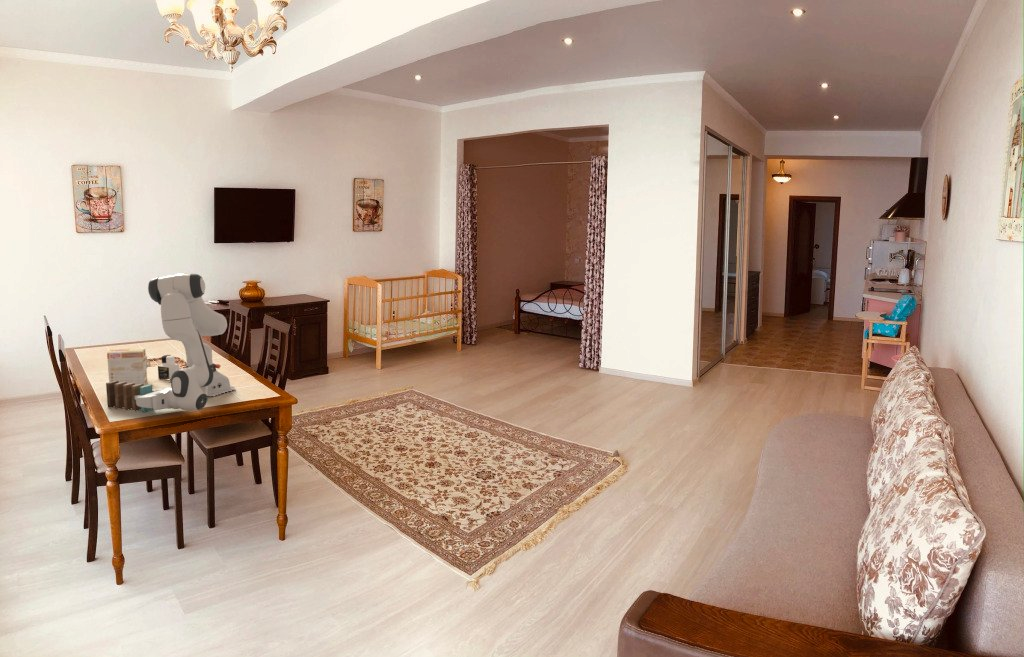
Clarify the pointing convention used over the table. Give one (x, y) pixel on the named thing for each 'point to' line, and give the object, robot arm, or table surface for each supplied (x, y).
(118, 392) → the walnut domino
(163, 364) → the medicine bottle
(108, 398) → the end domino
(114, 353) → the coffeecake box
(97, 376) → the table surface
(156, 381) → the table surface
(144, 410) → the teal domino
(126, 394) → the walnut domino
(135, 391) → the walnut domino
